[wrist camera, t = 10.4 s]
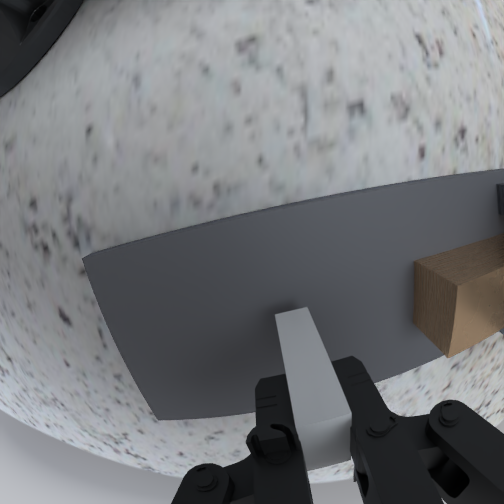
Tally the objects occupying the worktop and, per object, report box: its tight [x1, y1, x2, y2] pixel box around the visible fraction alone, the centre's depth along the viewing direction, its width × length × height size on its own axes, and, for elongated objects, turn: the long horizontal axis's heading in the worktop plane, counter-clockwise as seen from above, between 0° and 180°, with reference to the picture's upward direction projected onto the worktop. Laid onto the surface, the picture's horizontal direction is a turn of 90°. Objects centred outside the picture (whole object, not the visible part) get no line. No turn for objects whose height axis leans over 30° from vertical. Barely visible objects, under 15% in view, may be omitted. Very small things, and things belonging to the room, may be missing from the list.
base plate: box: [82, 169, 504, 420], centre depth 14 cm, size 40×12×1 cm, turn 103°
